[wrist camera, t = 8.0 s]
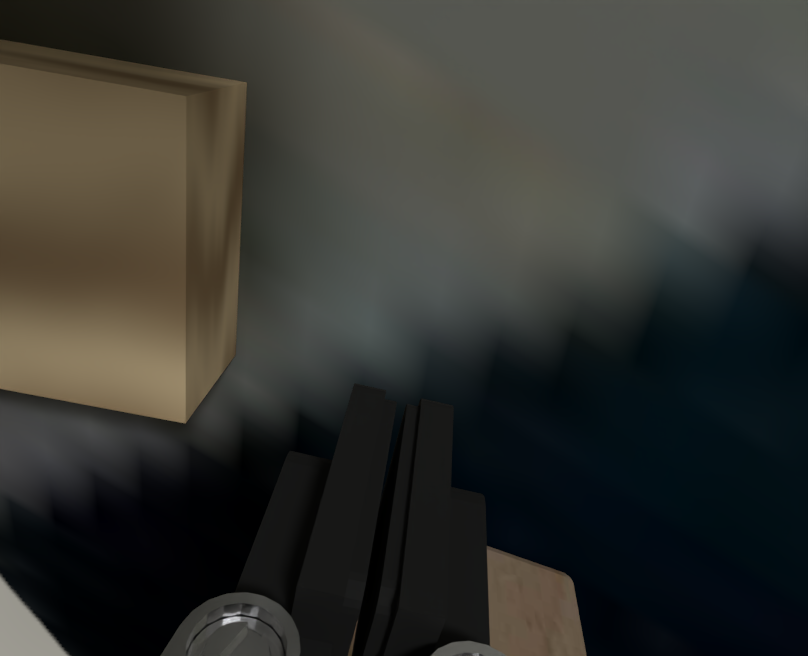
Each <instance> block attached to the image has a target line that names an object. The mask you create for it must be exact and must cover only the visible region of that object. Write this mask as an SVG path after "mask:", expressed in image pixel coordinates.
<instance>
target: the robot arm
mask: <svg viewBox="0 0 808 656" xmlns="http://www.w3.org/2000/svg"><path fill="white" fill-rule="evenodd" d="M385 394H386V390H382V389H377V388H373V387H368V386H364V385H360V384H354V387H353V390H352V393H351V397H350V401H349V404H348V408H347V411H346V415H345V418H344V422H343V425H342V429H341V432H340V436H339V439H338V443H337V446H336V450H335V453H334V457H333V460H328V459H324V458H319V457H315V456H310V455H306V454H301V453H297V452H293V451H290V452H289V453H288V455H287V458H286V460H285V462H284V465H283V468H282V470H281V473H280V475H279V478H278V481H277V483H276V486H275V488H274V491H273V494H272V496H271V499H270V502H269V504H268V507H267V509H266V512H265V515H264V517H263V520H262V522H261V525H260V528H259V530H258V533H257V536H256V538H255V541H254V543H253V546H252V549H251V551H250V554H249V556H248V559H247V562H246V564H245V567H244V569H243V572H242V575H241V577H240V580H239V583H238V585H237V588H236V590H235V593H227V594H224V595H221V596H218V597H215V598H212V599H209V600H208V601H206V602H205V603H203V604H202V605H200V606H199V607H197V608H196V609H194V610H193V611H192V612H191V613H190V614H189V615H188V617H187V618H186V619H185V620H184V621H183V622H182V624H181V625H180V626H179V628H178V629H177V631H176V632H175V634H174V635H173V637H172V639H171V640H170V642H169V643H168V645H167V646H166V648H165V650H164V651H163V653H162V654H161V656H348V653H349V649H350V646H351V642H352V638H353V635H354V631H355V627H356V624H357V627H356V633H355V639H354V644H353V650H352V656H506V655H505V654H503V653H502V652H500V651H498V650H496V649H494V648H492V647H490V628H489V598H488V568H487V537H486V507H485V498H484V496H483V494H480V493H475V492H471V491H466V490H462V489H457V488H453V487H451V466H452V436H453V406H452V405H448V404H443V403H439V402H434V401H430V400H426V399H421V400H420V402H419V405H418V407H417V406H413V405H408V404H407V405H406V408H405V411H404V415H403V419H402V423H401V426H400V430H399V434H398V438H397V442H396V445H395V449H394V453H393V457H392V460H391V464H390V468H389V472H388V476H387V479H386V483H385V487H384V491H383V495H382V498H381V492H382V487H383V481H384V475H385V469H386V463H387V457H388V451H389V445H390V439H391V434H392V428H393V422H394V416H395V410H396V404H397V402H395V401H391V400H386V399H385ZM380 498H381V502H380ZM379 504H380V506H379ZM357 620H358V621H357Z"/></svg>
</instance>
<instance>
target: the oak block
mask: <svg viewBox="0 0 808 656" xmlns="http://www.w3.org/2000/svg"><path fill="white" fill-rule="evenodd" d="M246 93H247V82H241V81H235V80H230V79H224V78H218V77H213V76H207V75H201V74H196V73H190V72H184V71H178V70H173V69H167V68H161V67H156V66H150V65H144V64H138V63H133V62H127V61H121V60H116V59H110V58H104V57H99V56H93V55H87V54H81V53H76V52H70V51H64V50H59V49H53V48H47V47H42V46H36V45H30V44H24V43H19V42H13V41H7V40H2V39H0V389H4V390H9V391H15V392H20V393H25V394H31V395H36V396H41V397H47V398H52V399H57V400H63V401H68V402H73V403H79V404H84V405H89V406H95V407H100V408H105V409H111V410H116V411H121V412H127V413H132V414H137V415H143V416H148V417H153V418H159V419H164V420H169V421H175V422H180V423H185V424H186V422H187V421H188V419H189V418H190V417H191V415H192V414H193V413H194V411H195V410H196V408H197V407H198V406H199V404H200V403H201V402H202V400H203V399H204V397H205V396H206V395H207V393H208V392H209V391H210V389H211V388H212V387H213V385H214V384H215V382H216V381H217V380H218V378H219V377H220V376H221V374H222V373H223V371H224V370H225V369H226V367H227V366H228V365H229V363H230V362H231V361H232V359H233V358H234V356H235V354H236V330H237V306H238V283H239V259H240V235H241V211H242V188H243V164H244V140H245V116H246Z"/></svg>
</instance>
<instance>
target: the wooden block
mask: <svg viewBox="0 0 808 656" xmlns="http://www.w3.org/2000/svg"><path fill="white" fill-rule="evenodd" d="M487 568H488V598H489V628H490V647H492V648H494V649H496V650H498V651H500V652H502V653H503V654H505V655H506V656H586V650H585V645H584V639H583V634H582V628H581V623H580V617H579V612H578V606H577V601H576V595H575V590H574V584H573V581H572V579H571V578H570V577H569V576H568V575H566V574H565V573H563V572H560V571H557V570H555V569H552V568H549V567H546V566H543V565H540V564H537V563H535V562H532V561H529V560H526V559H523V558H520V557H518V556H515V555H512V554H509V553H506V552H503V551H500V550H498V549H495V548H492V547H489V546H487ZM357 621H358V620H357ZM356 627H357V624H356ZM356 627H355V631H354V635H353V638H352V642H351V646H350V649H349V653H348V656H352V650H353V644H354V639H355V633H356Z"/></svg>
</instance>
